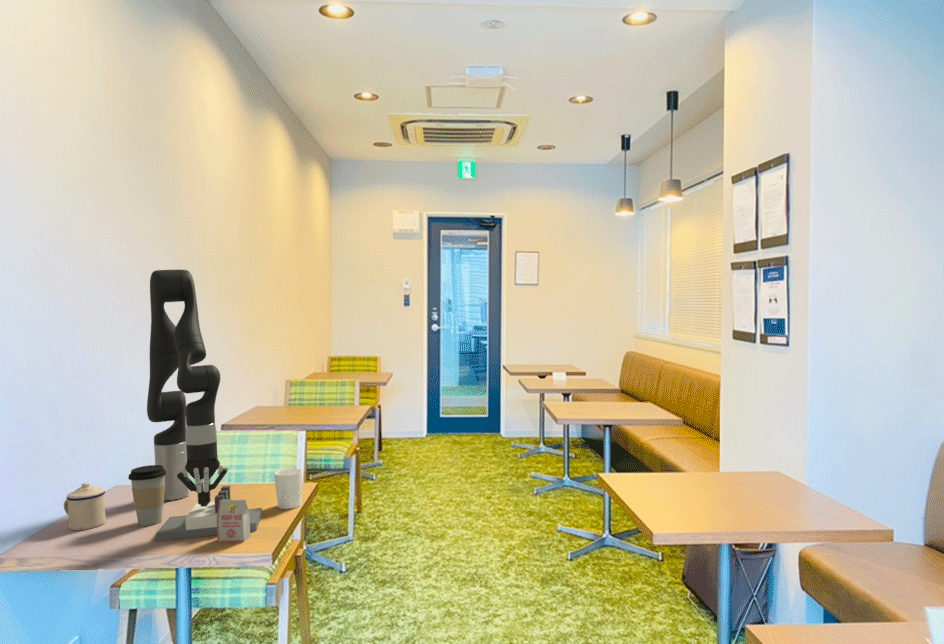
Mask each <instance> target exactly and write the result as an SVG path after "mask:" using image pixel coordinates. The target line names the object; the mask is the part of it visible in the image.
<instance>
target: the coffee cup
mask: <svg viewBox="0 0 944 644" xmlns="http://www.w3.org/2000/svg"><path fill="white" fill-rule="evenodd" d="M166 474H167V473H166V470H165V469H164V468H163V466H161V465H155V464H152V465H143V466H139V467H135V468H133V469H131V470H130V473H129V474H128V478H127V479H128V480H130V481H131V492H132V497H133V503H134V505H133V506H134V508H135V514H136V518H137V525H138V526H140V527H147V526H148V527H149V526H150V527H151V526H153V525H156V524H157V523H158V524H160V523H162V521H163V509H164V502H165V501H164V490H165V483H164V481H165V475H166Z"/></svg>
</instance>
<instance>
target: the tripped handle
mask: <svg viewBox="0 0 944 644" xmlns="http://www.w3.org/2000/svg"><path fill="white" fill-rule="evenodd" d="M217 495H224V496H225V500H228V490H221V489H220V490H219V491H218V493H217Z"/></svg>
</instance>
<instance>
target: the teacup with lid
mask: <svg viewBox="0 0 944 644" xmlns="http://www.w3.org/2000/svg"><path fill="white" fill-rule="evenodd" d="M105 493H106V491H105V489H104V488H102V487H96V486H94V485H91V483H90V482H83V483H81V486H80V487H78V488H77V489H75V490H73V491H71V492H69V493H67V495H66V499H65V500H64V502H63V509H64V512H65V514H66V515H68V528H69V529H70V530H72V531H84V530H85V531H86V530H89V529H93V528H98V527H100V526H102V525H103V524H105V523H106V522H107V521H106V518H107V517H106V504H105V502H106V501H105V498H106V497H105Z"/></svg>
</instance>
